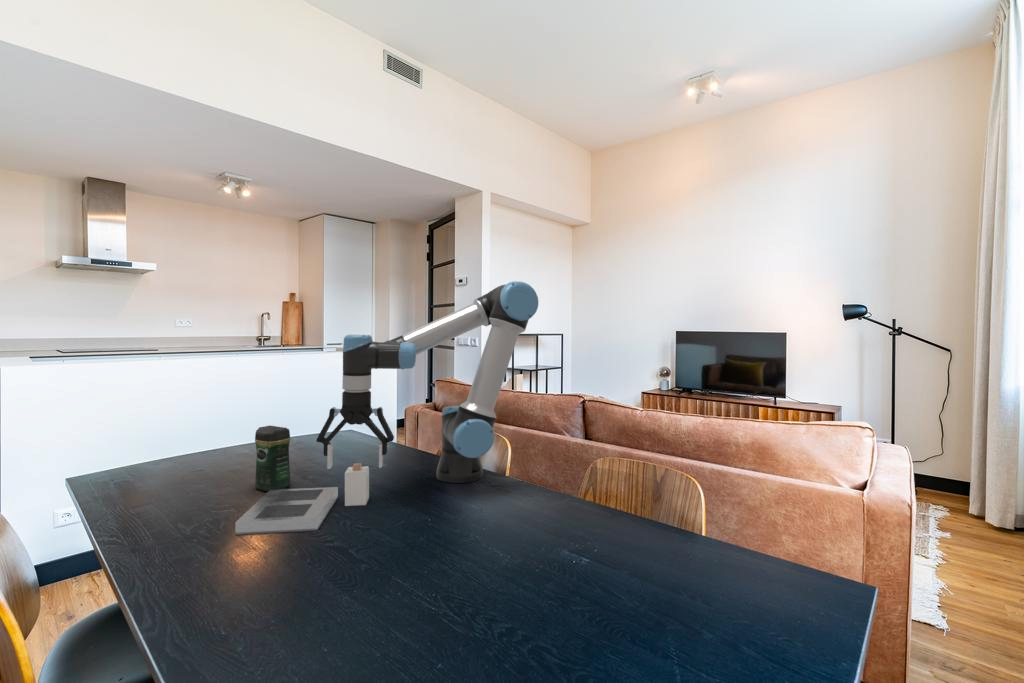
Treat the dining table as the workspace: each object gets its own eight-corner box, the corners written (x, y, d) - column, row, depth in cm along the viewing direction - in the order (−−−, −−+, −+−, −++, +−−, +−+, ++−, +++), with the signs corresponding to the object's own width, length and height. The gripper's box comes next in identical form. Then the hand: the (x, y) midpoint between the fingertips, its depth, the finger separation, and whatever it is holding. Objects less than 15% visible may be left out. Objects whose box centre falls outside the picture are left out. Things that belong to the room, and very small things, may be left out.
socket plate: (337, 497, 132) (337, 486, 132) (317, 530, 110) (317, 518, 110) (270, 500, 129) (270, 489, 129) (235, 535, 108) (235, 522, 108)
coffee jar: (295, 486, 141) (295, 425, 141) (271, 494, 134) (271, 430, 134) (274, 481, 146) (274, 422, 145) (250, 489, 139) (250, 427, 138)
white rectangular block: (369, 497, 132) (368, 461, 132) (365, 504, 127) (365, 466, 126) (348, 498, 131) (348, 461, 131) (344, 505, 126) (344, 467, 126)
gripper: (404, 388, 134) (402, 462, 134) (313, 388, 130) (311, 463, 131) (401, 392, 126) (400, 469, 127) (305, 391, 123) (304, 471, 123)
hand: (355, 467), depth 129 cm, fingers open, 13 cm apart
